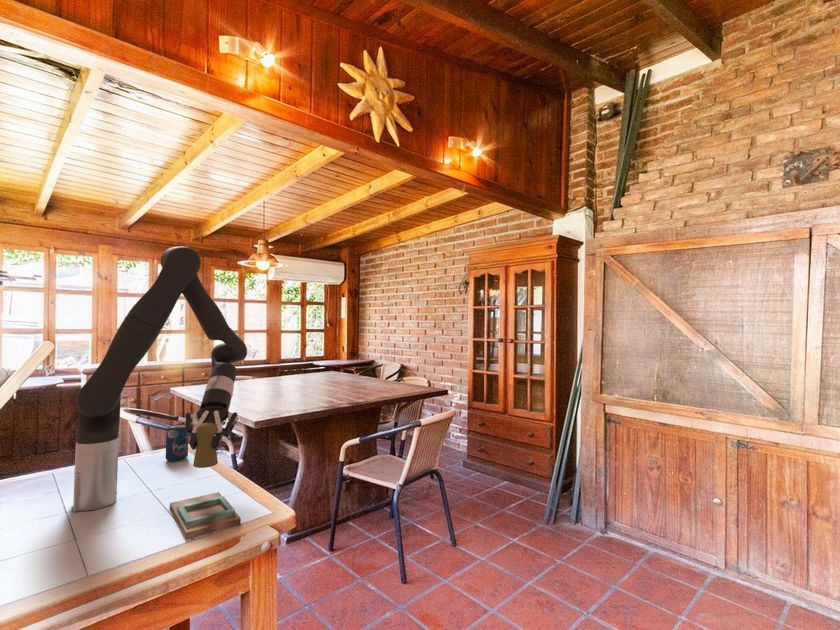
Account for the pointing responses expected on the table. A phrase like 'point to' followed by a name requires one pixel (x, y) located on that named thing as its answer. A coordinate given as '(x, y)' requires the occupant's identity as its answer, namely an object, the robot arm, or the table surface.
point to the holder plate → (204, 514)
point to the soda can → (176, 443)
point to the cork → (205, 446)
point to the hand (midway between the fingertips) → (204, 447)
